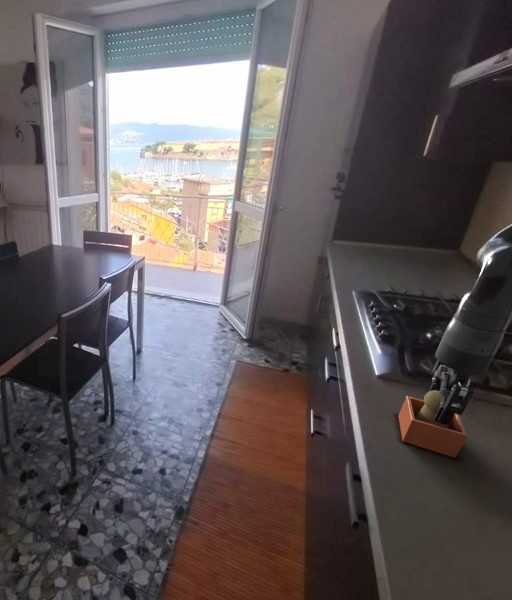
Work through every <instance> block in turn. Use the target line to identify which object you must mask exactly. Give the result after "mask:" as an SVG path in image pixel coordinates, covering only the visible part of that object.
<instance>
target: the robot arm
mask: <svg viewBox="0 0 512 600" xmlns="http://www.w3.org/2000/svg"><path fill="white" fill-rule="evenodd" d="M476 262H477V265H478V266H479V268H480V269H481V270H480V273H479V275H478V278H477V280H476V282H475V284H474V285H473V287H472V289H469V290H467V291H466V292H465V293H464V294H463V296H462V298H461V300H460V301H459V302H458V303H459V304H458V306H457V308H456V310H455V312H454V315H453V317H452V319H450V322H449V323H448V324H447V326H446V328H445V331H444V333H443V335H442V337H441V340H440V342H439V344H438V347H437V349H436V351H435V353H434V358H435V359H436V362H435V364H434V367H433V369H432V371H431V376H432V378H431V382H432V383H431V386H430V387H429V390H428V392H430V391H433V390H437V391H440V392H439V393H440V395H442V399H441V403H440V406H439V408H438V410H437V412H436V414H435V416H434V420H435V421H436V422H438V423H442V424H445V425H448V424H449V423H450V421H451V419H452V417H453V415H454V413H455V414H459V416H461V415H463V414H464V411H465V410H466V408H467V406H468V404H469V402H470V400H471V398H472V396H473V394H474V392H475V391H474V388H472V387H469V386H470V384H471V376H474V375H483V374H484V373H487V371H488V370H489V367H490V365H491V364H492V361H493V360H494V358H495V356H496V354H497V353H498V351H499V348H500V346H501V344H502V343H503V340H504V337H505V333H506V331H507V329H508V327H509V325H510V324H511V321H512V223H511V224H509V225H508V226H506V227H504V228H503V229H501V230H500V231H499V232H497V233H495V234H494V235H493V236H491V237H490V238H489V239H488V240H487V241H485V242H484V244H483V245H482V246H481V247H480V248H479V250H478V251H477V254H476ZM448 391H450V392H448ZM447 397H448V399H447ZM452 403H454V404H452Z"/></svg>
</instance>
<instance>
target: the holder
mask: <svg viewBox="0 0 512 600" xmlns="http://www.w3.org/2000/svg"><path fill="white" fill-rule="evenodd" d="M424 405H425V403H424V399H420V398H416V397H413V396H410V395H406V397H405V400H404V402H403V404H402V406H401V409H400V411H399V414H398V415H397V416H398V423H399V428H400V434H401V441H402V442H404V443H407V444H411V445H414V446H417V447H419V448H423V449H425V450H429V451H432V452H436V453H438V454H442V455H445V456H447V457H452V458H455V459H456V457H457V456H458V454H459V452H460V450H461V448H462V447H463V445H464V443H465V441H466V440H467V438H468V434H467V432H466V429H465V427H464V424H463V421H462V419H461V415H459V414H455V413H454V415H453V417H452V419H451V421H450V423H449V424H448V426H447V428H444V427H440V426H437V425H433V424H430V423H426V422H423V421H419V420H415V417H416V416H417V414H418V413H419V412H420V410H421V409H422V408H423V406H424Z"/></svg>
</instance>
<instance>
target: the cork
mask: <svg viewBox="0 0 512 600" xmlns="http://www.w3.org/2000/svg"><path fill="white" fill-rule="evenodd" d="M439 392H440V391H437V390H433V391H430V392H429V391H428V392H426V394H424V397H423V400H424V403H425V405H424V406H423V408H422V409H421V410H420V412H419V413H418V414H417V416H416V417H415V420H419V421H423V422H426V423H430V424H433V425H437V426H440V427H444V428H447V426H448V425H445V424H442V423H438V422H436V421H435V420H434V416H435V414H436V412H437V410H438V408H439V406H440V403H441V399H442V395H440V393H439ZM447 399H448V397H447ZM452 404H454V403H452Z"/></svg>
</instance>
